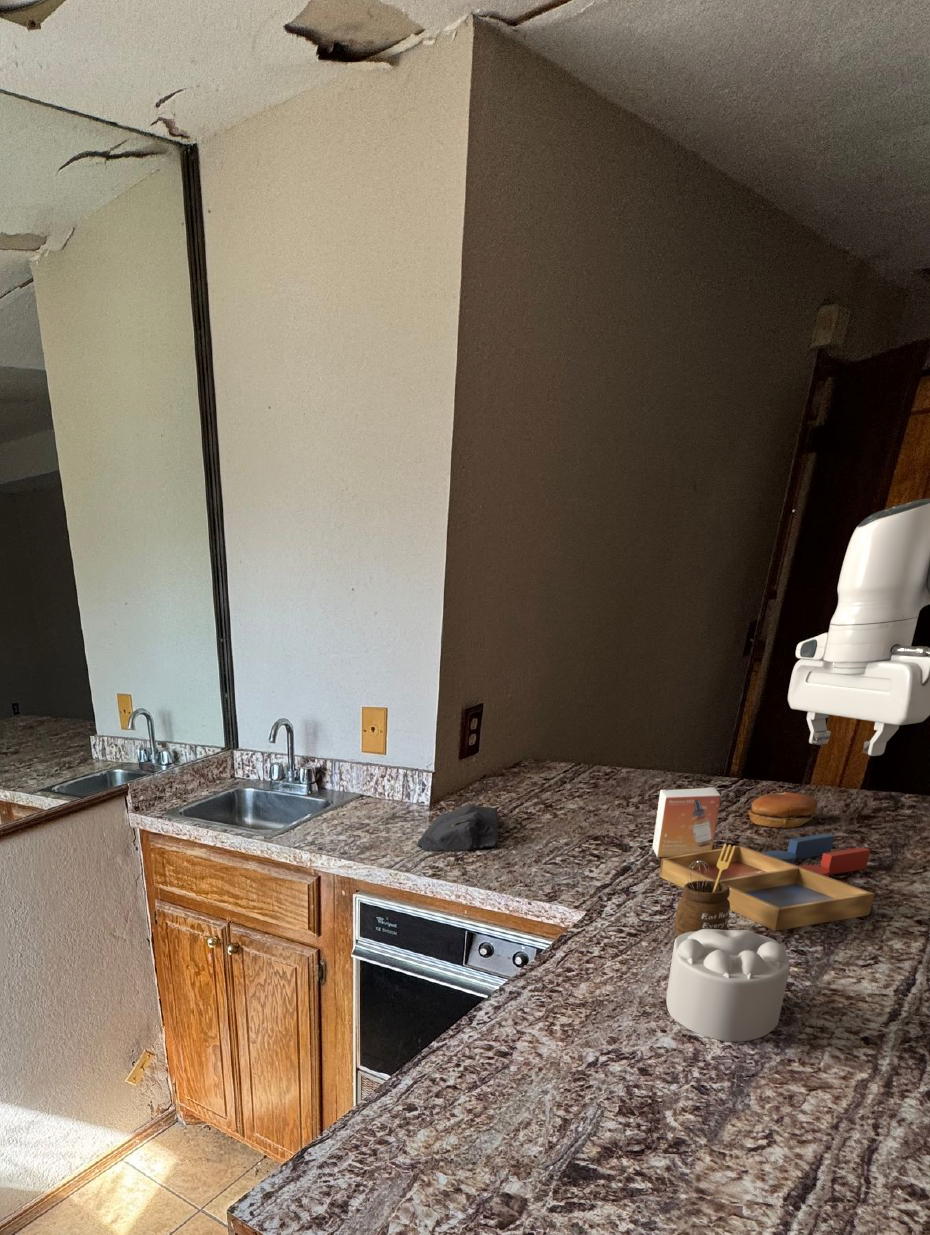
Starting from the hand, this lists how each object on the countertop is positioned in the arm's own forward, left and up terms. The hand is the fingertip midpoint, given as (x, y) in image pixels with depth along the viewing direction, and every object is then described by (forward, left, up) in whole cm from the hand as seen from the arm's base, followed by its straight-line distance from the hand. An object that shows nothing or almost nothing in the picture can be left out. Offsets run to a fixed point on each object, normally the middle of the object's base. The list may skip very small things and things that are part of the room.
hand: (844, 749), depth 110 cm
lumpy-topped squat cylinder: (+38, +32, -19) cm, 53 cm away
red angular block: (-2, 0, -19) cm, 19 cm away
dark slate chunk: (+35, -46, -19) cm, 61 cm away
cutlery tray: (+12, +3, -19) cm, 22 cm away
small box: (+9, -17, -19) cm, 27 cm away
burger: (-14, -24, -19) cm, 34 cm away
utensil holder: (+27, +13, -19) cm, 35 cm away
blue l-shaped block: (-3, -7, -19) cm, 20 cm away
